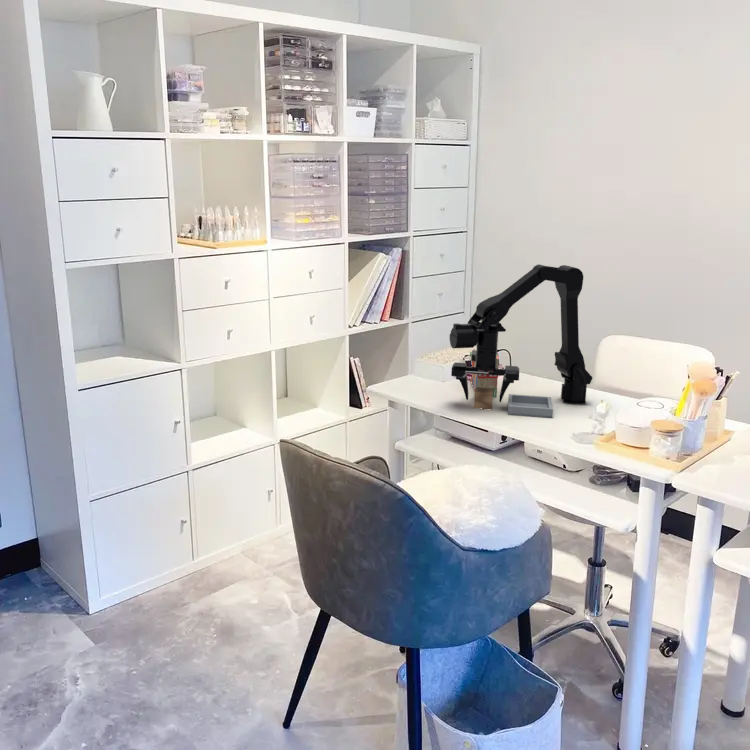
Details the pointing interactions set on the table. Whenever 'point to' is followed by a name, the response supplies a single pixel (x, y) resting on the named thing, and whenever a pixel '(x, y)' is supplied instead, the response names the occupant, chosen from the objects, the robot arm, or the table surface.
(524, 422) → the table surface
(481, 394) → the walnut cube
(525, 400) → the grey tray
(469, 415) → the table surface
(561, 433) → the table surface
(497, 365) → the stack of blocks
